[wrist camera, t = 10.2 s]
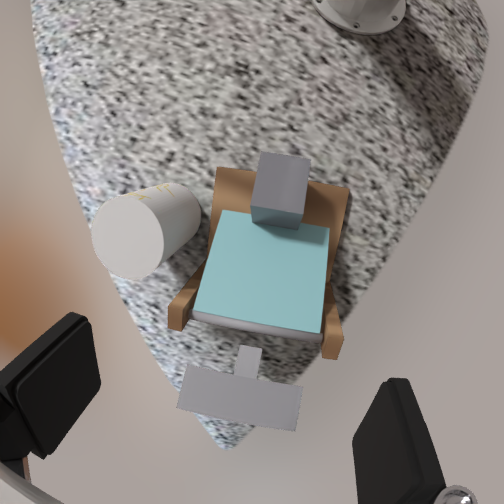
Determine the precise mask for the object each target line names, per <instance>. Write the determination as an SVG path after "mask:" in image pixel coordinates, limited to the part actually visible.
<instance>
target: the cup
mask: <svg viewBox="0 0 504 504" xmlns="http://www.w3.org/2000/svg"><path fill="white" fill-rule="evenodd" d="M200 222H201V209H200V205H199V203H198V201H197V199H196V197H195V196H194V194H193V193H192V192H191V191H190V190H189V189H187V188H186V187H184V186H182V185H180V184H176V183H165V184H161V185H157V186H153V187H149V188H146V189H142V190H138V191H135V192H131V193H128V194H124V195H121V196H117V197H114V198H111V199H109V200H107V201H106V202H104V203H103V204H102V205H101V206H100V207H99V209H98V210H97V212H96V214H95V216H94V219H93V222H92V228H91V236H92V243H93V246H94V250H95V252H96V254H97V256H98V258H99V260H100V261H101V262H102V264H103V265H104V266H105V267H106V268H107V269H108V270H109V271H110V272H112V273H113V274H115V275H117V276H119V277H121V278H124V279H130V280H136V279H141V278H144V277H146V276H148V275H149V274H151V273H152V272H153V271H154V270H155V269H157V268H158V267H159V266H160V265H161V264H162V263H163V262H165V261H166V260H167V259H168V258H169V257H170V256H171V255H173V254H174V253H175V252H176V251H177V250H178V249H180V248H181V247H182V246H183V245H184V244H185V243H187V242H188V241H189V240H190V239H191V238H192V237H193V236H194V235H195V234H196V232H197V231H198V229H199V226H200Z"/></svg>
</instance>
